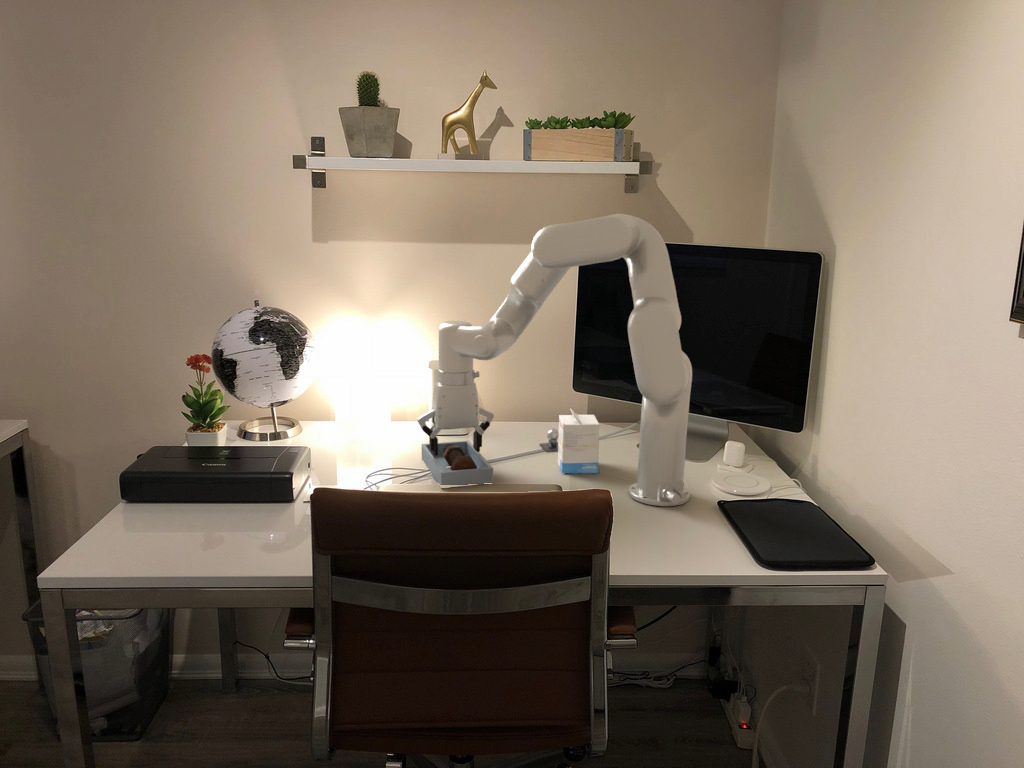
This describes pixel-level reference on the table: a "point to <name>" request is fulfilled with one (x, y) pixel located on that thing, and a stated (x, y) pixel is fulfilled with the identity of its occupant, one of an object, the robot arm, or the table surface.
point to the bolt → (458, 458)
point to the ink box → (578, 443)
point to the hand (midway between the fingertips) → (455, 451)
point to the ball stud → (551, 441)
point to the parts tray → (458, 476)
